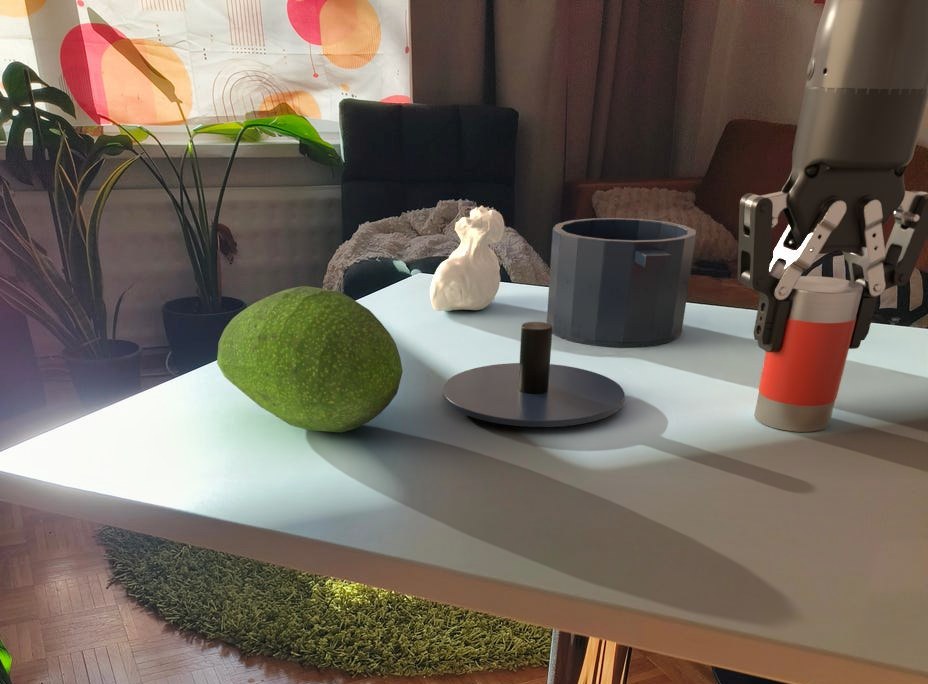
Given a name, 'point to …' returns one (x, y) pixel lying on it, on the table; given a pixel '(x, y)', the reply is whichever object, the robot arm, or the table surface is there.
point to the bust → (470, 265)
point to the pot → (619, 281)
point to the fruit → (312, 359)
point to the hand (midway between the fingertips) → (808, 347)
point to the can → (809, 355)
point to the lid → (533, 388)
